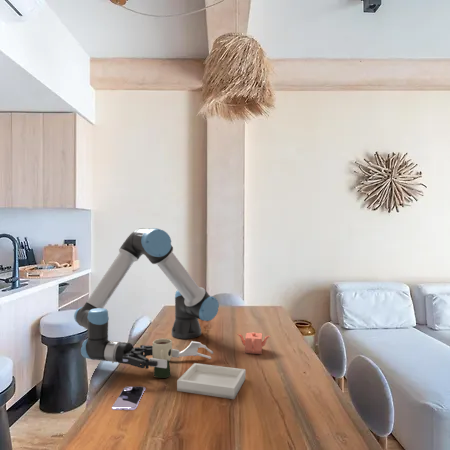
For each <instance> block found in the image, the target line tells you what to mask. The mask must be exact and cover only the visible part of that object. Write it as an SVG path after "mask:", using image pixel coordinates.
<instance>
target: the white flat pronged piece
mask: <svg viewBox="0 0 450 450" xmlns="http://www.w3.org/2000/svg"><path fill="white" fill-rule="evenodd" d="M199 348H200V349H201V348H204V349H205V350H206V351H207V352H209V353H210V354H211V355H213V354H214V351H213V350H211V349H210V348H208V347H207V345H206V344H202V343H201V342H199V341H193V340H191V342H190V343H189V345H188V346H187V347H185V349H183V350H181V351H179V357H190V356H191V357H192V356H193V357H197V356H199V357H201V358H207V359H209V360H212V357H211V355H206V354H203V353H201V352H198V351H199ZM170 361H171V359H169V362H170Z"/></svg>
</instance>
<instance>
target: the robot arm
mask: <svg viewBox="0 0 450 450" xmlns="http://www.w3.org/2000/svg"><path fill="white" fill-rule="evenodd" d="M173 251H174V247H173V246H172V238H171V237H170V235H169V234H168V232H166V231H165V230H163V229H160V228H155V227H152V228H144V227H142V228H136V230H134V231H132V232H131V233H130V234H129V235H128V236H127V238H126V239H125V240H124V242H123V243H122V244H121V246H120V248H118V252H119V253H118V254H117V256H116V258H115V259H114V260H113V262H112V263H111V264H110V266H109V268H108V270H107V271H106V272H105V274H104V275H103V277H102V278H101V280H100V281H99V283H98V284H97V286H96V287H95V289H94V290H93V292H92V293H91V295H90V296H89V297H88V299H87V301H86V302H85V303H84V305H83V306H80V307H79V308H77V309H76V310H75V311H74V315H73V318H74V321H75V322H76V324H78V325H79V327H83V328H84V329H86V331H87V338H86V339H84V341H83V342H82V343H81V348H80V354H81V356H82V357H83V358H85V359H89V360H92V361H104V362H110V363H112V364H113V363H119V364H124V365H129V366H133V367H136V368H139V369H145V370H148V369H149V368H150V367H152V368H153V367H160V368H167V360H164V359H156V358H153V357H151V356H153V345H145V344H141V345H139V346H140V347H139V346H138V347H137V346H136V347H134V346H133V344H132V343H130V342H123V341H116V340H109V311H108V309H107V308H105V307H106V305H107V304H108V302H109V301H110V299H111V297H112V296H113V295H114V293H115V292H116V289H117V288H118V287H119V285H120V284H121V282H122V281H123V280H124V278H125V276H126V274H127V273H128V272H129V270H130V268H131V267H132V265H133V264H134V263H135V262H138V261H139V259H140V258H141V256H143V255H144V256H145V257H146V258H147V259H148V261H149V262H150V263H151V264H152V265H157V267H159V269H160V270H161V271H162V272H163V274H164V275H165V276H166V278H167V279H169V282H171V284H172V285H173V287H174V288H176V292H175V294H174V295H175V296H174V302H175V303H174V312H175V313H174V317H175V318H174V322H173V325H172V328H171V336H172V337H173V338H176V339H186V340H187V339H195V338H198V337H200V336H202V328H201V324H200V321H203V322H204V321H205V322H209V321H212V320H213V319H214V318H215V317H216V316H217V314H218V312H219V307H220V305H219V304H220V303H219V300H218V299H217V298H216V297H214V296H212V295H210V294H209V293H208V292H207V290H206V289H205V288H204V287H200V286H199V285H198V284H197V282H196V281H195V280H194V279H193V277H192V276H191V275H190V274H189V272H188V271H187V269H186V268H185V267H184V265H183V264H182V263H181V262H180V260H179V259H178V258H177V256H176V255H175V253H173ZM199 320H200V321H199ZM179 352H180V350H179V349H176V348H175V349H174V348H172V358H178V359H179V358H180V356H179ZM148 357H149V358H148Z"/></svg>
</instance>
